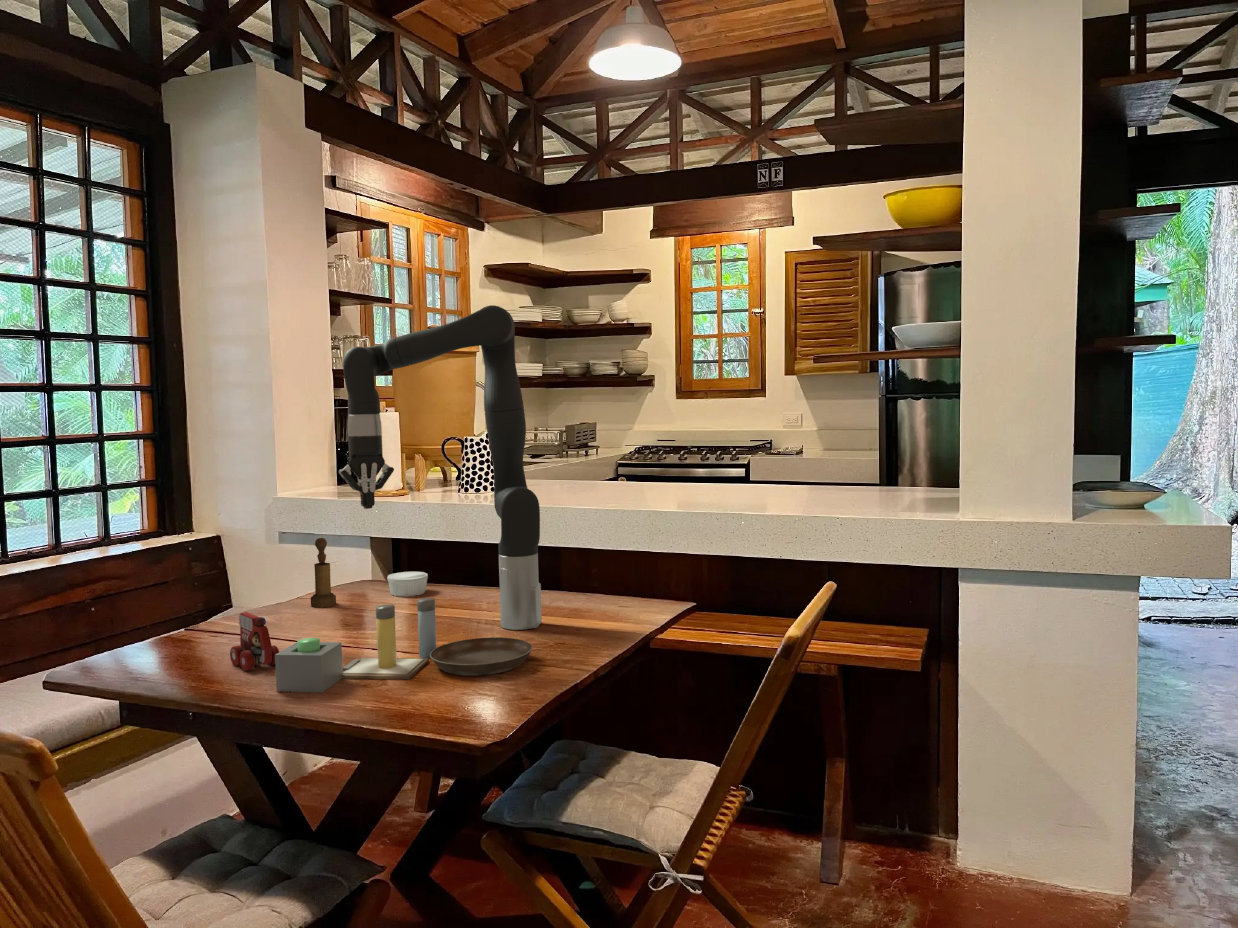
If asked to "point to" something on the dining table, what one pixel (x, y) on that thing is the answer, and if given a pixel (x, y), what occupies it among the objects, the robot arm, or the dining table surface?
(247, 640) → the toy fire truck
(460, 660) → the plant saucer
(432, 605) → the slate
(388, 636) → the marker mustard
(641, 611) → the dining table surface
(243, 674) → the dining table surface
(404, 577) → the ramekin
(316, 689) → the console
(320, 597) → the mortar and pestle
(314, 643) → the button
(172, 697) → the dining table surface
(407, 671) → the sketch pad
